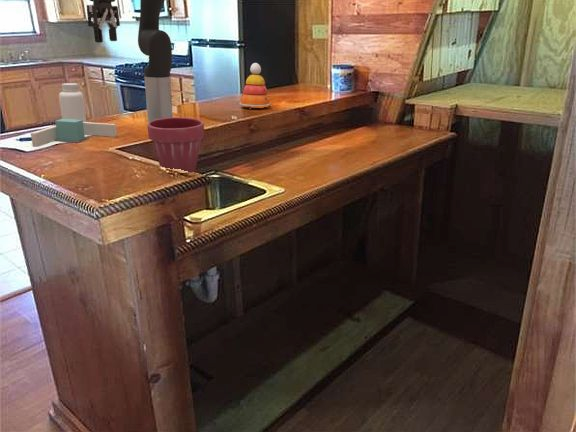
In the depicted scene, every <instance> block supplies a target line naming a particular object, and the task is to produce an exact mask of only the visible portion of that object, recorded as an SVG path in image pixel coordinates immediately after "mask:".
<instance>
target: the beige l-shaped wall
mask: <svg viewBox="0 0 576 432" xmlns="http://www.w3.org/2000/svg"><path fill="white" fill-rule="evenodd" d="M83 127H84V135H85V136H86V135H87V136H96V137H97V136H100V137H109V138H111V137H112V138H116V137H117V136H118V131H117V123H116V124H115V123H105V122H104V123H103V122H90V121H89V122H88V121H86V122H83ZM30 138H31V144H32V147H39V145H40V146H42V144H43V145H45V144H48V143H50V142H55V141H54V140H56V139H58V136H57V129H56V124H55V125H52V126H49V127H46V128H42V129H39V130H36V131H33V132H30Z"/></svg>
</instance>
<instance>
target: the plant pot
mask: <svg viewBox="0 0 576 432" xmlns="http://www.w3.org/2000/svg"><path fill="white" fill-rule="evenodd" d="M204 126H205V125H204V121H203V120H201V119H199V118H192V117H184V116H183V117H180V116H179V117H177V116H176V117H174V116H173V117H172V118H161V119H156V120H153V121H150V122H149V123H148V122H147V134H148V135H147V137H148V139H149V140H151V141H152V143H153V147H154V150H155V151H154V152H155V155H156V157H157V160H158V164H159V166H162V167H165V168H170V169H173V168H174V169H181V170H184V171H188V172H190V173H193V172H195V171H196V169H197V163H198V160H199V154H200V148H201V140H202V139H203V138H204V137H205V127H204Z"/></svg>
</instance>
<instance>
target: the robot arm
mask: <svg viewBox="0 0 576 432" xmlns="http://www.w3.org/2000/svg"><path fill="white" fill-rule="evenodd" d="M89 1H90V2H92V4H86V13H87V14H86V15H87V16H86V17H87V25H88V27H90V28H92V30H93V35H94V42H95V43H103V42H104V40H103V37H104V36H103V30H102V27H103V24H104V23H106V25H107V27H108V35H109V37H108V38H109V41H110V42H117V41H118V36H117V35H118V34H117V29H118V27H120V26H121V23H120V14H119V8H118V5H112V3H115V1H116V0H89ZM165 1H166V0H140V3H139V4H140V11H139V12H140V14H139V24H138V34H137V46H138V48H139V50H140V52H141V53H142V54H143V55H145V56H147V57H148V64H147V66H146V67H145V68H144V69H143V75H144V76H143V77H144V87H145V101H146V102H145V103H146V117H147V124H148V123H149V122H150V121H153V120H156V119H161V118H172V117H174V115H173V101H172V97H173V96H172V85H171V71H172V67H173V62H172V61H173V51H172V50H173V48H172V47H173V45H172V41H171V37H170V36H169V34H168V33H167V32H166V31H165V30H161V29H160V16H161V15H160V14H161V10H162V8H163V5H164V3H165Z"/></svg>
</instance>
